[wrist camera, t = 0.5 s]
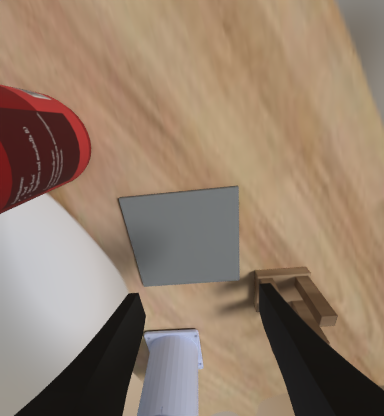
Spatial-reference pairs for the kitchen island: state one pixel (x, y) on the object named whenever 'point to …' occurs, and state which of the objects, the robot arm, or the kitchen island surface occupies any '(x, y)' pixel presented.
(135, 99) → the kitchen island surface
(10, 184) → the canned food
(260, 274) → the stool
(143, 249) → the mat
